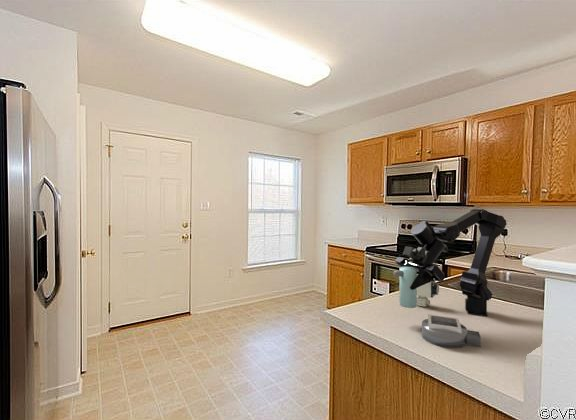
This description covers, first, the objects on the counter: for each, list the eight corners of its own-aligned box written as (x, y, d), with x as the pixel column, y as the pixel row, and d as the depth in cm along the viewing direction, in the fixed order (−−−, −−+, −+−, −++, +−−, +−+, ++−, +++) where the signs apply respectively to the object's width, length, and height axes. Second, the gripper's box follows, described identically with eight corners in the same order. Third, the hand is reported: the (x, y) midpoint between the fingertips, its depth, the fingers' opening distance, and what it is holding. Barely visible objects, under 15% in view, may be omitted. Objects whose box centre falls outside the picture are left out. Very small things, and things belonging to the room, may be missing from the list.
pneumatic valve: (436, 310, 119) (436, 280, 119) (406, 304, 127) (406, 275, 126) (439, 306, 123) (439, 277, 123) (410, 300, 131) (410, 273, 131)
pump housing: (408, 301, 109) (408, 266, 108) (420, 306, 103) (420, 269, 103) (389, 304, 106) (389, 268, 106) (400, 309, 101) (400, 271, 100)
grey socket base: (476, 335, 96) (476, 318, 96) (483, 353, 85) (483, 334, 84) (421, 327, 103) (421, 311, 102) (421, 343, 91) (421, 325, 91)
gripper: (398, 235, 115) (374, 266, 111) (438, 241, 97) (410, 278, 94) (415, 254, 118) (392, 285, 114) (456, 263, 100) (430, 300, 96)
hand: (404, 286), depth 104 cm, fingers closed on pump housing, 6 cm apart
